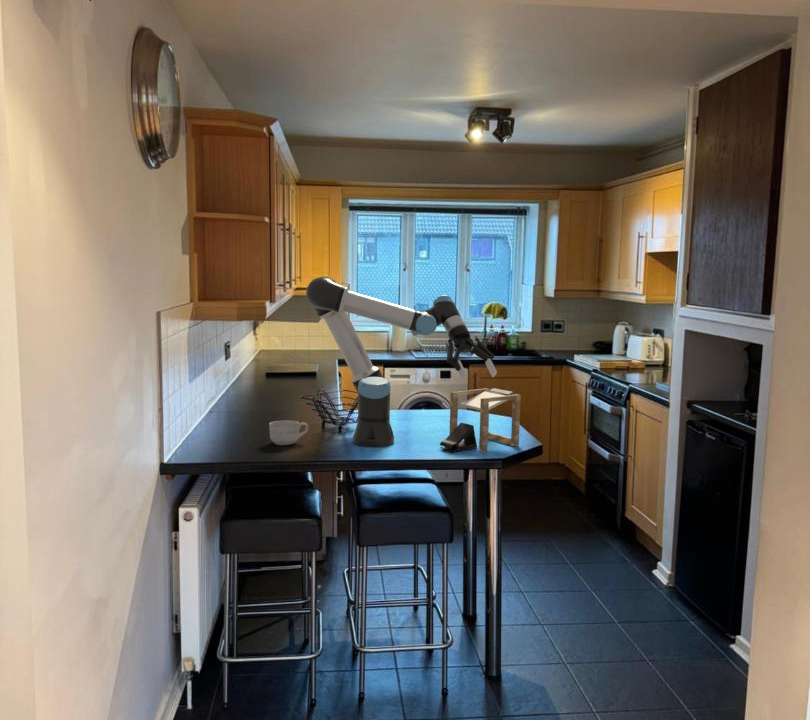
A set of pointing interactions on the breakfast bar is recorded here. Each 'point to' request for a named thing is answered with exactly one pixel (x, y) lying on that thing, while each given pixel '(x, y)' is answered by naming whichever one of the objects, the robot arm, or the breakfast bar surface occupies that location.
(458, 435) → the phone stand
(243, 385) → the breakfast bar surface
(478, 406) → the trapdoor
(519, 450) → the breakfast bar surface
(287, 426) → the teacup
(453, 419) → the trapdoor frame
